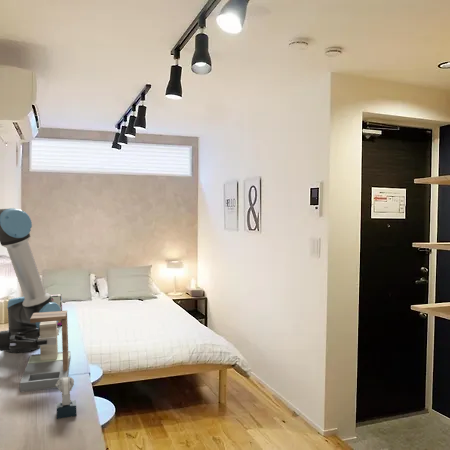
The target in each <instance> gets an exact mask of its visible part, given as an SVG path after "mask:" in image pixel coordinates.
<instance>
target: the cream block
mask: <svg viewBox="0 0 450 450" xmlns="http://www.w3.org/2000/svg"><path fill="white" fill-rule="evenodd" d="M57 328H58V326H57V321H48V322H41V323H40V338H48V337H56V342H57V344H54V345H43V346H40V348H39V349H40V351H39V352H40V353H39V354H40V355H41V361H42V360H52V359H57V357H58V352H59V350H58V349H59V348H58V347H59V346H58V335H57Z"/></svg>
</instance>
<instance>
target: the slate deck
mask: <svg viewBox="0 0 450 450" xmlns="http://www.w3.org/2000/svg"><path fill="white" fill-rule="evenodd" d="M68 356H69V363H68V370H67V371H63V351H58V357H57V359H52V360H42V361H41V355H40V353H38V354H31V355H30V357H29V359H28V361H27V365H26V366H25V369H24V372H23V375H22V376H21V379H20V382H19V392H20V393H22V392H30V391H31V392H32V391H39V390H48V389H56V388H57V389H58V387H56V384H57V382H58V380H59V379H61V378H63V377H69V372H70V366H71V365H70V364H71V351H70V350H68Z"/></svg>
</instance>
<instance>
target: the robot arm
mask: <svg viewBox="0 0 450 450" xmlns="http://www.w3.org/2000/svg"><path fill="white" fill-rule="evenodd" d="M32 227H33V224H32V219H31V217H30V215H29V214H28V213H27V212H26V211H25V210H22V209H21V208H14V207H10V208H0V245H1V246H2V247H4V248H6V250H7V253H8V256H9V259H10V261H11V262H10V263H11V264H12V267H13V270H14V273H15V275H16V277H17V282H18V285H19V287H20V289H21V292H22V295H23V296H19V297H14V298H10V299H9V300H8V301H7V307H6V308H7V319H8V320H7V321H8V322H7V323H8V324H7V325H8V330H0V352H7V351H8V352H7V353H12V352H18V353H26V352H27V353H28V352H31V350H32V351H35V350H37V349H40V346H43V345H54V344H57V343H58V341H57V342H56V337H48V338H40V323H41V322H36V323H30V318H31V317H32V315H33V313H40V312H53V311H61V309H60V307H59V305H58V304H56V303H54V302H53V301H52V299H51V296H50V295H51V293H49V292H46V290H45V287H44V285H43V284H44V283H43V281H42V278H41V275H40V272H39V269H38V267H37V264H36V261H35V258H34V254H33V252H32V248H31V246H30V243H29V240H30V239H31V234H30V233H31V232H32V229H31V228H32ZM57 323H58V321H57ZM59 333H60V329H59V328H58V327H57V336H60V334H59Z"/></svg>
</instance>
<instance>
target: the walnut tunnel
mask: <svg viewBox="0 0 450 450" xmlns="http://www.w3.org/2000/svg"><path fill="white" fill-rule="evenodd" d="M61 320H62V326H61V339H62V340H61V345H62V347H61V348H62V349H61V350H62V351H61V352H63V371H67V370H68V363H69V356H68V351H69V333H68V332H69V330H68V329H69V327H68V324H69V323H68V310H62V311H53V312H40V313H33V315H32V317H31V318H30V323H36V322H48V321H61Z"/></svg>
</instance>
